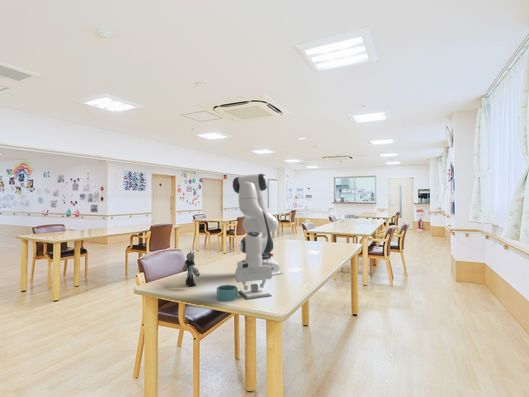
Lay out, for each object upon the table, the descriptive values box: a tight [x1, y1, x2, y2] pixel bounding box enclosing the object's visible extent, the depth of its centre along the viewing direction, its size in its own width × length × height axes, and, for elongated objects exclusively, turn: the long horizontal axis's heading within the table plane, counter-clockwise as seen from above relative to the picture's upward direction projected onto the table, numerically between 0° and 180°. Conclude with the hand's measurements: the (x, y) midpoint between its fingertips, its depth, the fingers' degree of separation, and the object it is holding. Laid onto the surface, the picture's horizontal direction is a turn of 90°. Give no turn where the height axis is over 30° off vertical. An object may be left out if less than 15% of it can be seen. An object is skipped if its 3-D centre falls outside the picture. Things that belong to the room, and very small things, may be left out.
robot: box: [182, 250, 201, 288], centre depth 179 cm, size 20×5×20 cm, turn 38°
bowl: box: [216, 284, 239, 302], centre depth 156 cm, size 10×10×5 cm
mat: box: [238, 290, 272, 300], centre depth 162 cm, size 14×14×1 cm
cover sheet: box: [239, 283, 270, 298], centre depth 162 cm, size 12×12×4 cm
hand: (253, 288), depth 162 cm, fingers open, 8 cm apart
